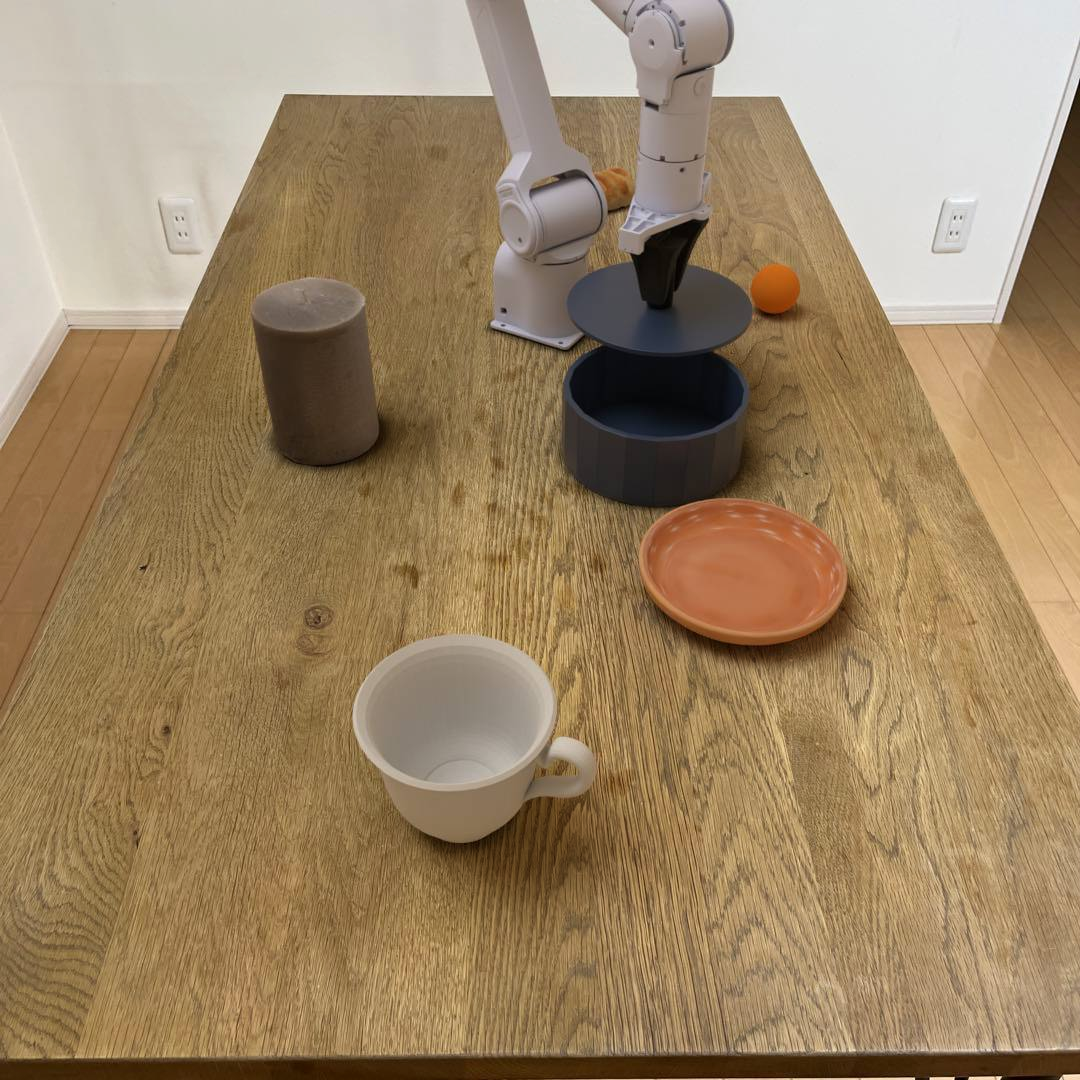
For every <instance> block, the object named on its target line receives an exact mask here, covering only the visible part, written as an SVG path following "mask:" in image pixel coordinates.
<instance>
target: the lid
mask: <svg viewBox="0 0 1080 1080" xmlns="http://www.w3.org/2000/svg"><path fill="white" fill-rule="evenodd" d="M676 261H677V260H676ZM675 271H676V263H675V266H674V269H673V272H672V277H671V282H670V286H669V291H668V294H667V297H666V300H665V302H664V303H663V304H662V305H657V304H653V303H650V302H646V301H643V300H642V298H641V294H640V290H639V284H638V279H637V274H636V270H635V266H634V263H633V261H625V262H620V263H616V264H611V265H608V266H605V267H601V268H599V269H596V270H593V271H591V272H590V273H588V275H586V276H584V277H583V278H582V279H580V280H579V281H578V282H577V283H576V284H575V285H574V286H573V287H572V289H571V290H570V292H569V295H568V298H567V312H568V315H569V317H570V319H571V321H572V322H573V324H574V325H575V326H576V327H577V328H578V329H579V330H580V331H581V332H582V333H583V334H584V336H586V337H587V338H589V339H591V340H592V341H594V342H596V343H598V344H601V345H605V346H607V347H610V348H613V349H616V350H620V351H623V352H627V353H632V354H638V355H645V356H654V357H681V356H691V355H697V354H703V353H706V352H710V351H713V352H714V351H716V350H719V349H722V348H724V347H726V346H728V345H731V344H732V343H734V342H736V341H737V340H739V338H741V337H742V336H743V335H744V334H745V333H746V332H747V330H748V329H749V328H750V326H751V323H752V320H753V315H754V314H753V313H754V310H753V309H754V308H753V304H752V301H751V297H749V294H748V293H747V292H746V291H745V290H744V289H743V288H742V287H741V286H740V285H739V284H737V283H736V282H735V281H733V280H731V279H730V278H729V277H727V276H724V275H722V274H720V273H718V272H716V271H713V270H711V269H708V268H705V267H701V266H698V265H694V264H690V263H687V266H686V269H685V272H684V275H683V278H682V281H681V284H680V286H679V288H678V290H677V291H676V292H674V282H675Z"/></svg>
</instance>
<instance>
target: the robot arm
mask: <svg viewBox="0 0 1080 1080" xmlns="http://www.w3.org/2000/svg"><path fill="white" fill-rule="evenodd" d="M464 2H465V4H466V8H467V12H468V15H469V18H470V22H471V24H472V28H473V32H474V35H475V38H476V42H477V45H478V49H479V52H480V55H481V59H482V62H483V66H484V69H485V73H486V76H487V79H488V83H489V87H490V89H491V93H492V96H493V99H494V103H495V106H496V109H497V113H498V116H499V121H500V123H501V127H502V131H503V133H504V138H505V140H506V144H507V147H508V151H509V154H510V158H511V159H510V161H509V163H508V164H507V166H506V167H505V169H504V171H503V173H502V175H501V176H500V177H499V179H498V180H497V182H496V184H495V186H494V191H495V194H496V197H497V203H498V210H499V217H498V219H499V220H498V221H499V228H500V232H501V235H502V237H503V239H504V240H503V242H502V243H500V244H501V245H500V246H499V247H498V249H497V252H496V255H495V258H494V262H493V267H492V268H493V270H492V279H493V280H492V281H493V283H492V284H493V286H492V287H493V314H494V315H493V318H494V319H493V320H492V321H491V322H490V327H491V328H492V329H494V330H498V331H500V332H501V331H502V332H504V333H507V334H511V335H515V336H517V337H521V338H524V339H527V340H530V341H533V342H538V343H540V344H544V345H547V346H551V347H554V348H557V349H560V350H564V351H567V350H569V349H570V348H572V346H574V345H575V344H576V343H577V342H578V341H579V340H580V339H581V338H582V337H583V336H585V334H583V333H582V332H581V331H580V330H579V329H578V328H577V327H576V326H575V325H574V324H573V322H572V321H571V319H570V317H569V315H568V312H567V298H568V295H569V292H570V290H571V289H572V287H573V286H574V285H575V284H576V283H577V282H578V281H579V280H580V279H582V278H583V277H584V276H586V275H588V274H589V251H590V248H591V247H593V246H595V243H596V235H597V234H599V233H600V232H602V231H603V230H604V229H605V226H606V223H607V219H608V212H609V210H608V211H607V200H606V197H605V194H604V191H603V189H602V187H601V186H600V184H599V183H598V181H597V180H596V178H595V176H594V174H593V169H592V166H591V163H590V159H589V157H588V156H586V155H585V154H584V153H582V152H580V151H578V150H577V149H575V148H573V147H571V146H569V144H566V143H565V142H564V139H563V135H562V131H561V128H560V124H559V121H558V117H557V113H556V111H555V107H554V103H553V99H552V96H551V95H552V94H551V93H550V89H549V85H548V82H547V78H546V75H545V69H544V66H543V64H542V59H541V57H540V52H539V50H538V45H537V42H536V39H535V35H534V31H533V28H532V23H531V21H530V16H529V13H528V10H527V6H526V3H525V0H464ZM590 2H591V3H592V4H593V5H595V7H597V8H598V9H599V10H600V11H601V12H602V14H604V15H605V16H606V18H608V19H609V20H610V22H612V23H613V24H614V25H615V26H616V27H617V28H618V30H619V31H621V32H622V33H623V34H624V35H625V36H626V37H627V38H628V47H629V52H630V56H631V59H632V62H633V65H634V67H635V71H636V83H635V84H636V85H635V88H636V89H637V90H638V91H637V93H638V96H639V97H640V98H641V100H640V114H639V115H640V116H639V129H638V130H639V131H638V147H637V162H636V177H635V178H636V179H635V188H636V191H635V194H634V196H633V199H632V202H631V204H630V205H629V209H628V213H627V216H626V219H625V220H624V223H623V225H621V226H620V228H619V229H618V243H617V250H619V251H622V252H626V253H629V255H630V258H631V260H632V262H633V263H634V266H635V270H636V274H637V279H638V284H639V290H640V294H641V298H642V300H643V301H646V302H650V303H653V304H657V305H662V304H663V303H664V302H665V300H666V297H667V294H668V291H669V286H670V282H671V277H672V272H673V269H674V266H675V263H676V271H675V282H674V292H676V291H677V290H678V288H679V286H680V284H681V281H682V278H683V275H684V272H685V269H686V266H687V264H689V260H690V258H691V254H692V252H693V250H694V247H695V245H696V243H697V242H698V239H699V238H700V236H701V234H702V232H703V231H704V229H705V228H706V226H707V225H708V224H709V221H710V216H712V215H713V213H714V212H713V211H714V206H713V205H712V204H710V203H706V202H705V198H706V197H707V196H709V194H711V190H712V189H711V188H712V180H713V173H712V172H709V171H705V164H706V156H707V148H708V137H709V129H710V117H711V110H712V109H711V107H712V98H713V89H714V79H715V69H716V68H715V67H714V66H717V65H719V64H721V63H723V62H724V61H725V60H726V59H727V57H728V56H729V54H730V52H731V50H732V48H733V44H734V39H735V23H734V17H733V14H732V11H731V9H730V7H729V5H728V3H727V1H726V0H590ZM548 178H556V179H557V180H554V181H551V182H548V183H545V184H542V185H539V186H536V187H532V186H533V185H534V184H535V183H537V182H539V181H541V180H545V179H548ZM676 260H677V261H676Z"/></svg>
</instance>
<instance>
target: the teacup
mask: <svg viewBox="0 0 1080 1080" xmlns="http://www.w3.org/2000/svg"><path fill="white" fill-rule="evenodd" d="M557 703H558V702H557V696H556V691H555V688H554V686H553V684H552V682H551V680H550V678H549V676H548V675H547V673H546V672H545V670H544V669H543V668H542V666H541V665H540V664H538V662H537V661H536V660H534V659H533V658H532V657H531V656H530V655H529V654H528V653H526V652H524V651H523V650H521V649H519V648H518V647H516V646H514V645H512V644H510V643H508V642H505V641H503V640H500V639H497V638H492V637H489V636H485V635H477V634H468V633H467V634H466V633H456V634H453V633H452V634H444V635H443V634H442V635H436V636H432V637H428V638H423V639H421V640H417V641H414V642H412V643H410V644H407V645H405V646H403V647H400V648H399V649H397V650H396V651H393V652H392V653H390V654H389V655H388V656H386V657H385V658H383V660H381V661H380V662H379V663H378V664H376V666H375V667H374V668H373V669H372V670H371V671H370V672H369V674H368V675H367V676H366V677H365V679H364V681H363V682H362V684H361V685H360V687H359V690H358V691H357V694H356V696H355V700H354V704H353V708H352V716H351V717H352V727H353V731H354V734H355V738H356V741H357V742H358V744H359V747H360V748H361V750H362V751H363V753H364V754H365V756H366V757H367V758H368V760H370V762H372V764H373V765H374V766H376V768H378V769H379V772H380V775H381V778H382V781H383V785H384V787H385V789H386V791H387V793H388V795H389V797H390V799H391V801H392V803H393V805H394V807H395V808H396V809H397V811H398V812H399V814H400V815H401V816H402V818H404V819H405V821H407V822H408V823H409V824H410V825H412V826H413V827H414V828H416V829H417V830H418V831H421V832H422V833H424V834H426V835H428V836H430V837H431V836H432V837H433V838H434V837H435V838H437V839H438V840H439V839H440V840H442V841H445V842H448V843H455V844H464V843H472V842H475V841H479V840H481V839H483V838H485V837H487V836H489V835H490V834H491V833H493V832H495V831H497V830H498V829H500V828H502V827H503V826H504V825H505V824H507V823H508V822H509V821H511V819H513V817H514V816H515V815H516V814H517V813H518V812H519V811H520V809H521V807H522V806H523V804H524V803H525V802H528V801H529V800H531V799H534V798H539V797H550V798H559V799H570V798H576V797H578V796H579V797H580V796H581V795H583V794H585V793H586V792H587V791H588V790H589V789H590V788H591V787H592V785H593V783H594V781H595V778H596V776H597V761H596V758H595V755H594V753H593V751H592V750H591V748H589V747H588V746H587V745H586V744H584V743H583V742H581V741H580V740H578V739H575V738H573V737H569V736H559V737H556V738H555V739H553V741H552V742H551V744H549V743H548V742H549V740H550V738H551V735H552V733H553V731H554V728H555V725H556V720H557V713H558V712H557V711H558V704H557ZM555 760H561V761H564V762H566V763H569V764H570V765H572V766H573V767H574V768H575V769H576V770H577V771H578V774H574V775H554V774H553V775H544V776H540V777H537V778H536V779H534V776H535V772H536V767H537V765H538V766H540V768H541V769H548V768H550V767H551V765H552V764H553V763H554V761H555Z"/></svg>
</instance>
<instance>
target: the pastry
mask: <svg viewBox="0 0 1080 1080" xmlns="http://www.w3.org/2000/svg"><path fill="white" fill-rule="evenodd" d="M592 172H593V171H592ZM593 174H594V176H595V178H596V180H597V181H598V183H599V184H600V186H601V187H602V189H603V191H604V194H605V197H606V200H607V211H608V212H609V211H614V210H617V209H620V208H622V207H628V206H630V205H631V202H632V199H633V196H634V194H635V191H636V183H635V182H634V180H633V177H632V175H631V173H630V172H629V171H628V170H627V169H625V168H624V167H623V166H616V167H615V166H613V165H612V166H609V167H608V168H607V169H605V170H598V171H595V172H593Z"/></svg>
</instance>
